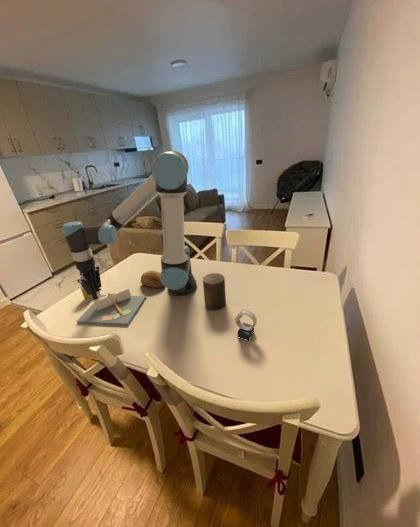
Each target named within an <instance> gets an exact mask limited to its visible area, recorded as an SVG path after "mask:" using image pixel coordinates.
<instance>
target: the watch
mask: <svg viewBox="0 0 420 527" xmlns="http://www.w3.org/2000/svg"><path fill="white" fill-rule="evenodd" d="M244 315H245V316H247V317H249V318H250V319H251V320H252V321H253V323H252V324H250V323H246V322H241V319H242V317H243V316H244ZM234 321H235V323H236V325H237V327H238V328H239V329H238V330H237V338H238V337H240V338H243V339H246V340H249V338H250V337H251V338H252V336H253V335H252V333H253V332H254V333H255V326H256V325H257V323H258V321H257V317H256V315H255V314H254V313H253V312H252V311H250V310H248V309H241V310H240V312H239V313H237V315H236V317H235V318H234ZM254 333H253V334H254ZM251 335H252V336H251ZM240 338H239V339H240ZM251 338H250V339H251ZM243 339H242V340H243ZM249 341H250V340H249Z"/></svg>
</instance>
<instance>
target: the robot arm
mask: <svg viewBox="0 0 420 527" xmlns="http://www.w3.org/2000/svg"><path fill="white" fill-rule="evenodd" d="M188 173H189V162H188V160H187V158H186V157H185V155H184V154H182V153H181V152H179V151H176V150H168V151H163V152H161V153H159V154H158V155H157V156H156V157H155V159H154V161H153V162H152V166H151V174H150V176H148V177H147V179H145V180H144V181H143V182H142V183H141V184H140V185H139V186H138V187H137V188H136V189H135V190H134V191H133V192H132V193H131V194H129V196H128V197H127V198H126V199H124V200H123V201H122V202H121V203H120V204H119V205H118V206H117V207H116V208H115V209H114V210H112V212H111V213H110V214H108V216H106V217H105V219H103V220H102V221H101V222H99V223H98V224H96V225H92V226H91V225H89V226H84V225H83V223H82V221H79V220H78V221H77V220H76V221H70V222H67V223H64V224H63V225H62V227H61V229H62V232H63V238H64V239H65V241H66V244H67V246H68V248H69V252H70V255H71V256H72V260H73V261H74V265H75V268H76V270H77V271H79V276H80V278H78V279H77V283H79V284H80V286H81V285H82V287H83V288H84V290H85V291H86V293H87V294H88V295H92V297H93V299H92V300H96V299H99V298H101V295H102V294H101V292H100V291H102V288H101V287H102V281H101V274H100V266H98V265H97V266H96V262H95V257H94V256H93V251H92V249H91V246H97V245H98V246H99V245H109V244H110V245H111V244H114V243H116V242H117V239H118V232H119V231H120V230H121V229H122V228H123V227H125V226H126V225H127V224H128V223H129V222H130V221H131V220H132V219H133V218H135V216H137V215H138V214H139V213H140V212H141V211H142V210H143V209H144V208H145V207H146V206H148V205H149V204H150V203H151V202H152V201H153V200H155V198H156V197H158V196H160V209H161V210H160V211H161V223H162V224H161V226H162V227H161V228H162V238H163V239H162V240H163V241H162V243H163V254H162V255H161V256H160V263H161V264H160V268H161V272H160V281H161V283H162V284H163V285H164V286H163V287H166V288H167V291H168V293H169V294H170V295H173V296H180V297H181V296H187V295H190V294H192V293H194V291H196V289H197V288H198V284H197V280H196V278H195V276H194V274H193V273H192V272H193V270H192V264H191V255H190V253H191V251H190V248H189V246H188V245H185V209H184V205H185V202H184V197H185V195H186V194H187V193H188Z"/></svg>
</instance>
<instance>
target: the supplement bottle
mask: <svg viewBox="0 0 420 527" xmlns="http://www.w3.org/2000/svg"><path fill="white" fill-rule="evenodd" d="M80 290H81V293H82V296H83V298H84V300H85V301H87V302H88V301H92V300H94V299H93V297H92V295H88V294H87V293H86V291H85V290H84V288H83V287H82V285H81V284H80Z"/></svg>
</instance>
